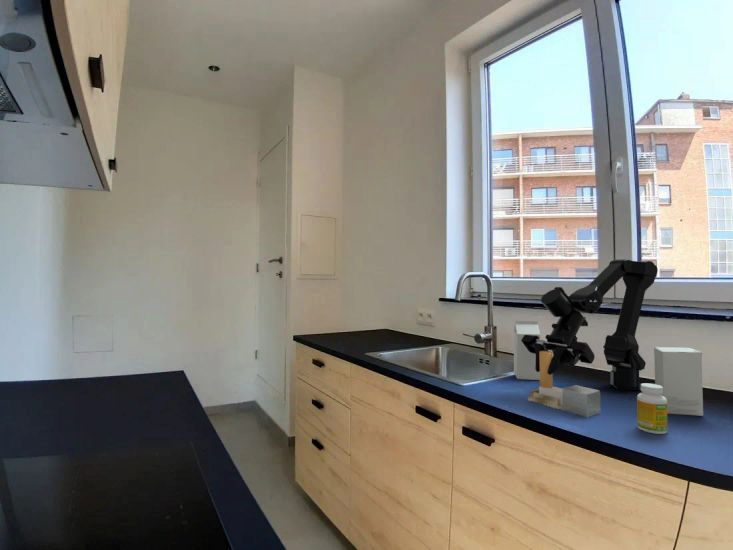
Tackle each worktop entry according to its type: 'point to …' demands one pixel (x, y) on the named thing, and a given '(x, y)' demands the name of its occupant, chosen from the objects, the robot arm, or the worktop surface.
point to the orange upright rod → (548, 378)
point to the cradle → (544, 399)
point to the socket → (581, 400)
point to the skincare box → (680, 379)
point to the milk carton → (525, 351)
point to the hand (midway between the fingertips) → (542, 372)
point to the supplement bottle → (652, 409)
